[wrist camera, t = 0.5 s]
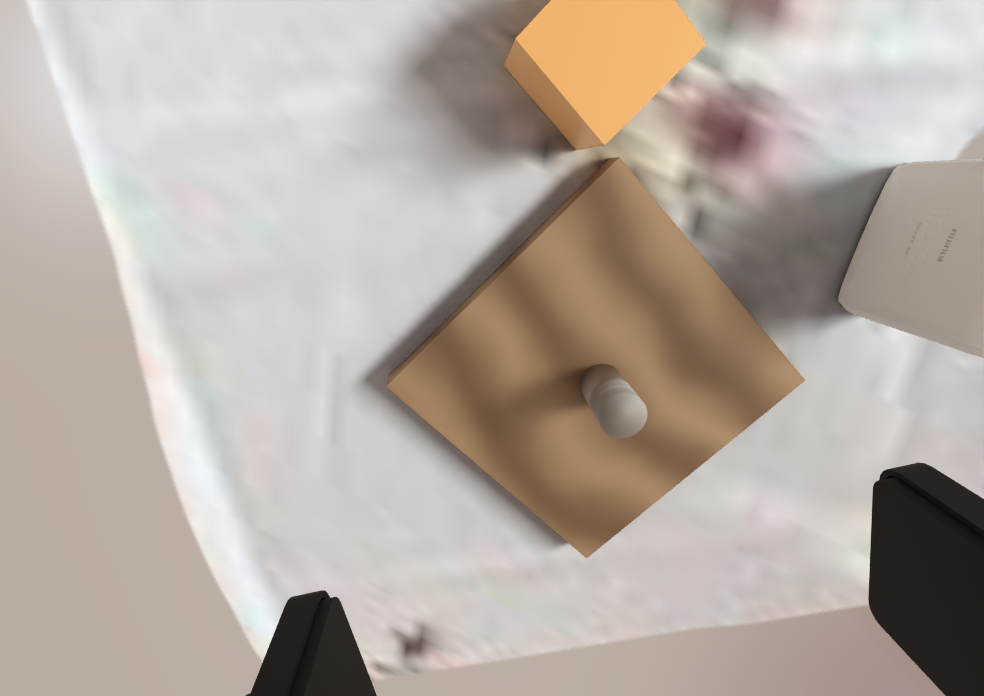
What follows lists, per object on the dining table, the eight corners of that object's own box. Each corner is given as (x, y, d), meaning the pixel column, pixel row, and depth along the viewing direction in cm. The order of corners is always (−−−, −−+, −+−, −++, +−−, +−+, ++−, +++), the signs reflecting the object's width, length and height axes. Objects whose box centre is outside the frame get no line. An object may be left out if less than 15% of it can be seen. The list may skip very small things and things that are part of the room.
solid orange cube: (586, -24, 29) (620, -76, 23) (656, 69, 31) (706, 43, 25) (503, 65, 30) (515, 38, 24) (576, 150, 32) (604, 145, 26)
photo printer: (891, 152, 33) (1125, 142, 22) (948, 169, 34) (1208, 167, 22) (823, 306, 36) (997, 370, 25) (878, 319, 37) (1073, 387, 25)
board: (609, 158, 32) (649, 154, 26) (787, 369, 38) (858, 412, 31) (389, 375, 36) (374, 421, 29) (580, 540, 41) (604, 611, 35)
